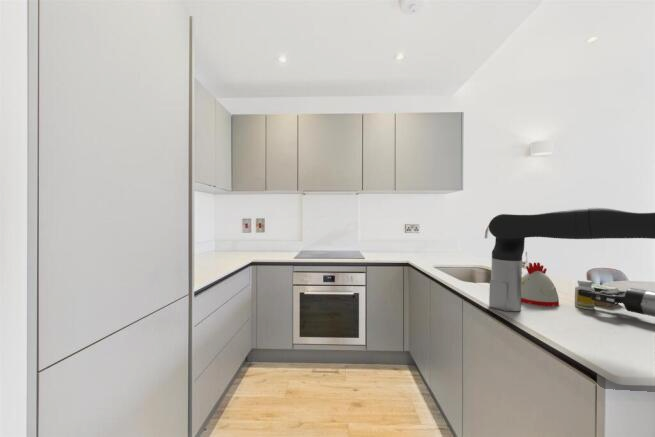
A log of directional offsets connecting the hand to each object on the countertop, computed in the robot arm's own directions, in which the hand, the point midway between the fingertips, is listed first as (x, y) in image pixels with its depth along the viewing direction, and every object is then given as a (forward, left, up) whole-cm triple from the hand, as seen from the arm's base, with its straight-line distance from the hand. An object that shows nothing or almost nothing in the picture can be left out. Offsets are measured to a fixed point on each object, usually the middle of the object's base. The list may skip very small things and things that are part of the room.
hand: (585, 291), depth 107 cm
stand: (+14, +2, -6) cm, 15 cm away
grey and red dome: (-8, +12, -6) cm, 16 cm away
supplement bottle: (0, 0, -6) cm, 6 cm away
